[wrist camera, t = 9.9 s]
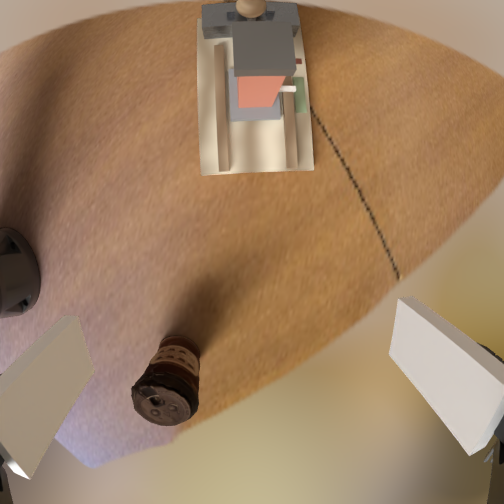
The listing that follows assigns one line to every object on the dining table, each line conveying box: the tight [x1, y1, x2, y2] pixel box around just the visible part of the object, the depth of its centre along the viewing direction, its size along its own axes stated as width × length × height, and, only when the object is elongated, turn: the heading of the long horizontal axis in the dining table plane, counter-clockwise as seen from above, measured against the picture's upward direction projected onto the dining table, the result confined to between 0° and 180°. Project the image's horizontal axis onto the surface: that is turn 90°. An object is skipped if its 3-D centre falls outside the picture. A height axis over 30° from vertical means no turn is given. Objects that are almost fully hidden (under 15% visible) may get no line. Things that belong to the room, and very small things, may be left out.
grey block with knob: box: [202, 2, 300, 39], centre depth 28 cm, size 12×4×5 cm, turn 93°
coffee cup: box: [131, 336, 200, 426], centre depth 36 cm, size 9×8×13 cm
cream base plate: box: [197, 18, 314, 176], centre depth 33 cm, size 14×23×3 cm, turn 3°
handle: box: [228, 21, 297, 122], centre depth 26 cm, size 8×7×15 cm
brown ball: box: [236, 0, 266, 18], centre depth 25 cm, size 4×4×4 cm
